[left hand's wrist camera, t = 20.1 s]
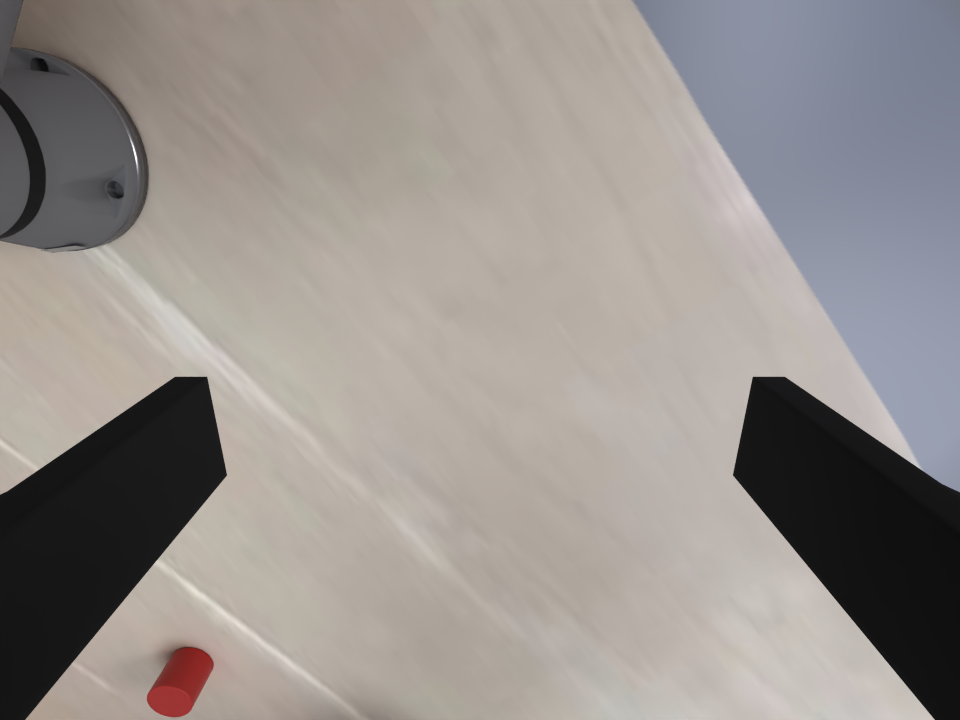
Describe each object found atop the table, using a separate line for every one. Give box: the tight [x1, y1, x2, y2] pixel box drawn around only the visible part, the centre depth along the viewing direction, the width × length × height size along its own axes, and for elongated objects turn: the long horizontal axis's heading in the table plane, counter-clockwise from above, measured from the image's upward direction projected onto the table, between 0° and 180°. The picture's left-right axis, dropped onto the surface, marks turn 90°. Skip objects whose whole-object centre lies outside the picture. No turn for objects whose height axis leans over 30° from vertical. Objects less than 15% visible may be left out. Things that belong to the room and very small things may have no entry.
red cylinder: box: [147, 647, 213, 717], centre depth 61 cm, size 5×5×5 cm
